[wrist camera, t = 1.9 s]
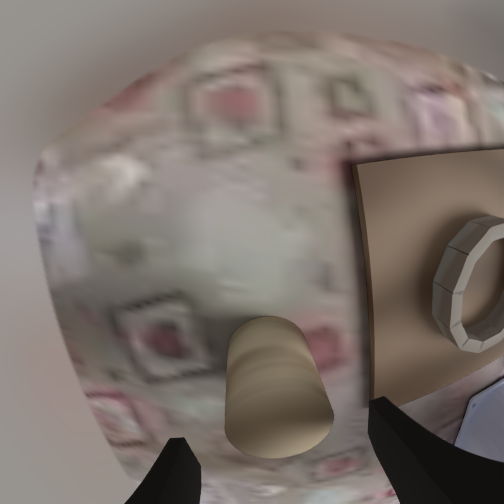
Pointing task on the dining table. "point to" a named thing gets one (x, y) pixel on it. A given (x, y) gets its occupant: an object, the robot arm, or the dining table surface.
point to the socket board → (432, 268)
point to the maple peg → (274, 391)
